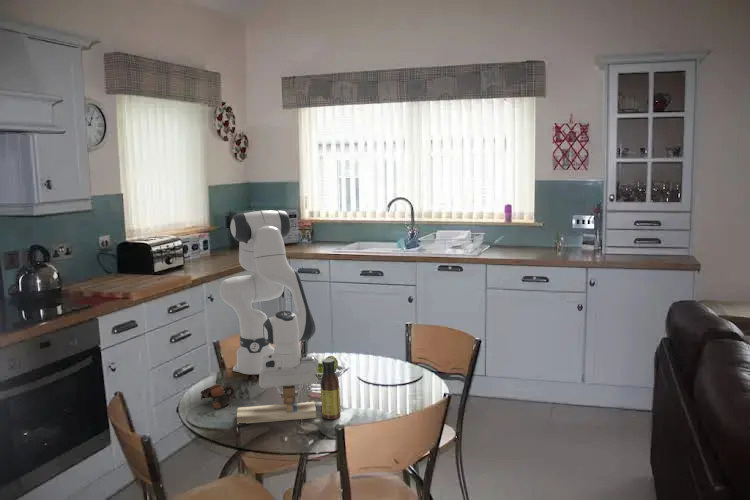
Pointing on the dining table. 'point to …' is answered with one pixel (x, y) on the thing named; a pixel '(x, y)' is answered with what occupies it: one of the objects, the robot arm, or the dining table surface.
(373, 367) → the dining table surface
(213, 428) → the dining table surface
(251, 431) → the dining table surface
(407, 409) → the dining table surface
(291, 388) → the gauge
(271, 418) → the board
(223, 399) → the rusty valve
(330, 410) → the sauce bottle
